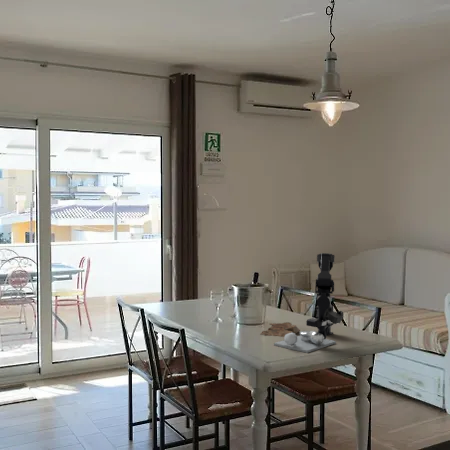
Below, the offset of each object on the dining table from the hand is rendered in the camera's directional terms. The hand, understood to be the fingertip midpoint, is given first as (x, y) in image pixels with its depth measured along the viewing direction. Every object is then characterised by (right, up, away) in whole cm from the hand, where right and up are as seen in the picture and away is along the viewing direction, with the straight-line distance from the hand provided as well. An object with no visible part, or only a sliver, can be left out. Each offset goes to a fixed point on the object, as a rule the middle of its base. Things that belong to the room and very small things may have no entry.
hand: (324, 339), depth 250 cm
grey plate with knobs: (-8, -3, +3) cm, 9 cm away
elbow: (-5, -1, +4) cm, 6 cm away
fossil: (-18, -3, +26) cm, 32 cm away
